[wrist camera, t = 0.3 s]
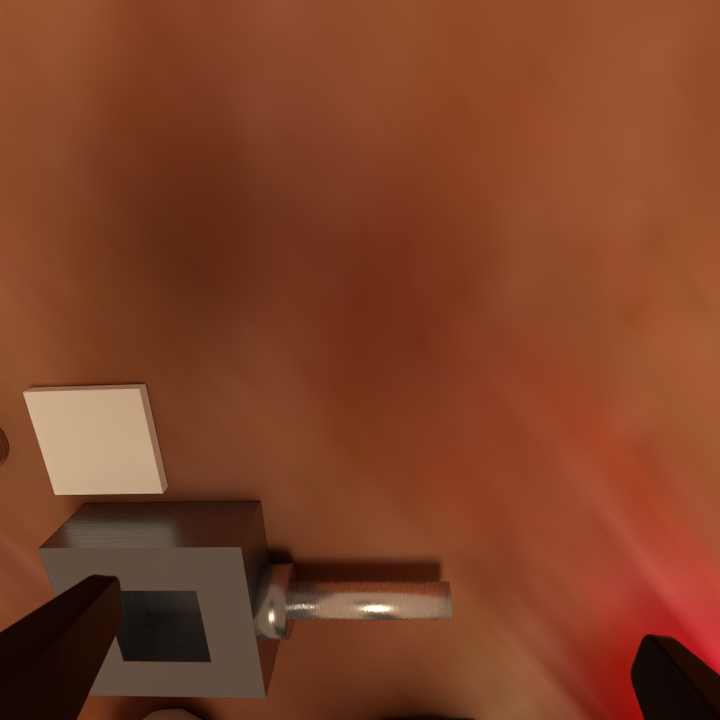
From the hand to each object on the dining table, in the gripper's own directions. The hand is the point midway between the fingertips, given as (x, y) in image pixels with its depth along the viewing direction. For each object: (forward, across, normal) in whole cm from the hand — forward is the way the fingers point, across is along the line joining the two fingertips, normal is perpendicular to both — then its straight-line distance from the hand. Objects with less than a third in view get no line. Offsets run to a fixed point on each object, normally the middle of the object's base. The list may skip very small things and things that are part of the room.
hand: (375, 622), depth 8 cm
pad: (+14, +14, +6) cm, 21 cm away
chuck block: (+14, +5, +14) cm, 21 cm away
